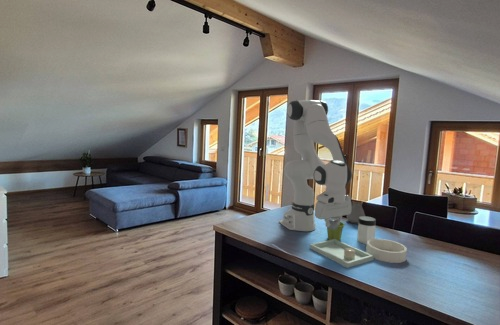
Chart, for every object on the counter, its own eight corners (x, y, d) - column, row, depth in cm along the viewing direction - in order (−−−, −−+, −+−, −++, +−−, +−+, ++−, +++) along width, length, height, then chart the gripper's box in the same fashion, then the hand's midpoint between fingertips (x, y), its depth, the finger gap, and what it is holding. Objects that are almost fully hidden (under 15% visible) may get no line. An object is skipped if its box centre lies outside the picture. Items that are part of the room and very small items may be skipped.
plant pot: (321, 239, 149) (322, 222, 148) (330, 235, 156) (331, 219, 155) (337, 244, 142) (338, 227, 141) (346, 240, 149) (348, 223, 148)
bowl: (358, 252, 133) (359, 242, 133) (380, 246, 142) (381, 236, 141) (391, 267, 120) (392, 255, 119) (413, 259, 128) (414, 248, 127)
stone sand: (341, 257, 126) (342, 249, 126) (348, 255, 129) (349, 247, 128) (349, 261, 123) (350, 253, 122) (356, 259, 125) (357, 251, 125)
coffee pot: (369, 222, 181) (370, 198, 179) (361, 226, 173) (362, 201, 171) (337, 214, 196) (338, 192, 194) (328, 218, 188) (330, 195, 186)
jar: (356, 237, 153) (358, 215, 152) (373, 239, 151) (375, 217, 150) (357, 243, 145) (359, 220, 144) (375, 245, 142) (376, 222, 141)
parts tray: (309, 249, 135) (310, 244, 135) (334, 243, 144) (334, 238, 143) (347, 269, 117) (347, 263, 116) (373, 261, 125) (373, 255, 124)
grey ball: (325, 227, 135) (326, 219, 134) (332, 225, 137) (332, 218, 136) (332, 230, 131) (333, 222, 130) (339, 228, 133) (340, 221, 133)
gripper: (345, 192, 140) (342, 220, 142) (313, 196, 129) (311, 226, 131) (356, 195, 135) (353, 224, 136) (323, 200, 124) (321, 231, 126)
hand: (332, 225), depth 134 cm, fingers closed on grey ball, 4 cm apart
